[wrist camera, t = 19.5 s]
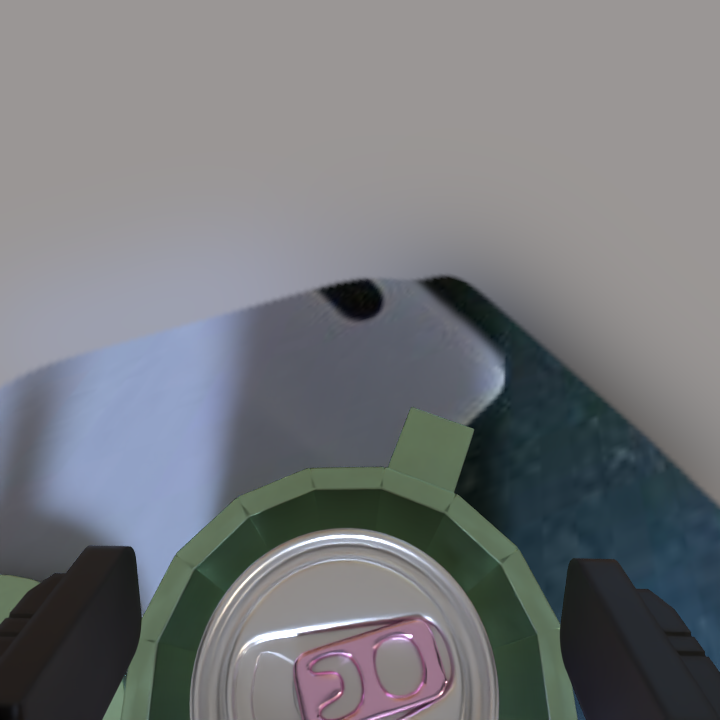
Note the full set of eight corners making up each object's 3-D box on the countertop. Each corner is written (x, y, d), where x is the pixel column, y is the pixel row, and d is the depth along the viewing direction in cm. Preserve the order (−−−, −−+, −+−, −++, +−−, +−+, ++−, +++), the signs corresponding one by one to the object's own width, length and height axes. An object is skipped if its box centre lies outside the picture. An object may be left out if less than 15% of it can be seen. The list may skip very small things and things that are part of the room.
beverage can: (446, 750, 23) (567, 824, 10) (293, 803, 22) (205, 959, 9) (399, 590, 26) (445, 483, 13) (261, 632, 25) (157, 564, 12)
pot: (553, 533, 28) (627, 473, 20) (428, 1062, 20) (474, 1290, 12) (299, 437, 30) (281, 351, 22) (91, 878, 22) (-46, 974, 14)
